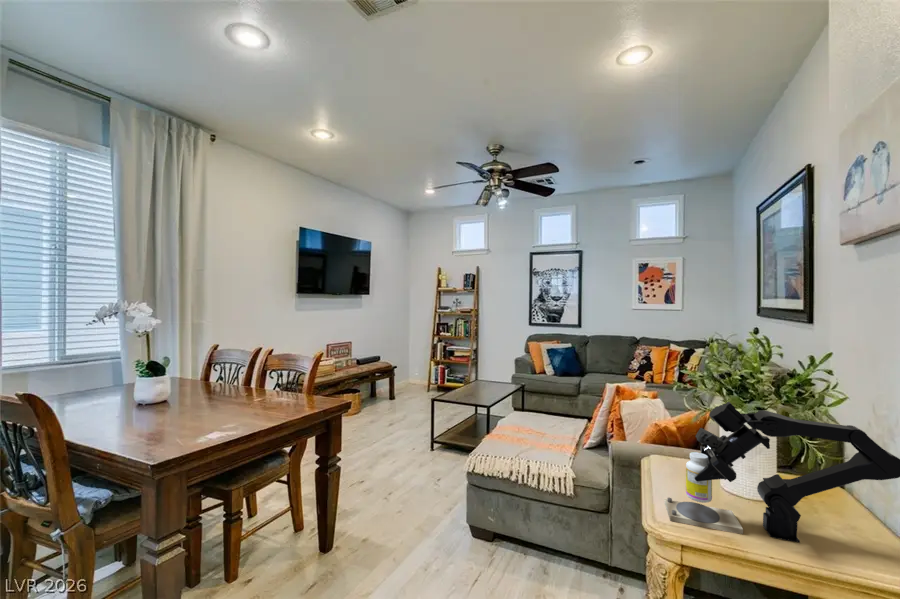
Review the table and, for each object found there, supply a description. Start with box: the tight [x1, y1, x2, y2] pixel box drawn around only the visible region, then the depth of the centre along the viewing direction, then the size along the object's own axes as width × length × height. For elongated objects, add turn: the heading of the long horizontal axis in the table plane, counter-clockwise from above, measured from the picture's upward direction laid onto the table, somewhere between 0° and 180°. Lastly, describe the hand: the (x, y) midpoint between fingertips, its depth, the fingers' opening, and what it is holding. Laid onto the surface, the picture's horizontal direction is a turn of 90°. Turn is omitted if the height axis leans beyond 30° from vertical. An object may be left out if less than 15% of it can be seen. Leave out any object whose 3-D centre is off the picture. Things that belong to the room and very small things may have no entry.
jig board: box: [664, 497, 744, 535], centre depth 119 cm, size 18×11×2 cm, turn 70°
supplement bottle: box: [685, 451, 713, 503], centre depth 119 cm, size 7×7×13 cm
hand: (693, 474), depth 119 cm, fingers closed on supplement bottle, 7 cm apart
